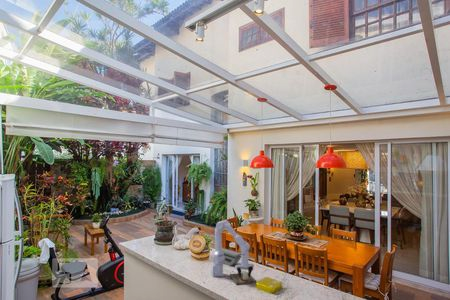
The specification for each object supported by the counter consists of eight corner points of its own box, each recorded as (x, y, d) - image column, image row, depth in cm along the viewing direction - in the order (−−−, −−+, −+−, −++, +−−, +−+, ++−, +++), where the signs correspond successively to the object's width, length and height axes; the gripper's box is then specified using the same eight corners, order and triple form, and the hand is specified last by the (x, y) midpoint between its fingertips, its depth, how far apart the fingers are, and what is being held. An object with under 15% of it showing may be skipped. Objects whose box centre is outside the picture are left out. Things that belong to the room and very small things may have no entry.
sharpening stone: (215, 261, 252) (215, 249, 253) (220, 259, 258) (221, 247, 258) (235, 268, 235) (235, 255, 236) (241, 265, 241) (241, 253, 242)
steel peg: (242, 282, 205) (242, 273, 206) (241, 280, 209) (241, 271, 210) (247, 282, 206) (247, 273, 207) (245, 280, 210) (246, 271, 211)
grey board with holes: (236, 284, 201) (236, 282, 202) (229, 276, 218) (229, 273, 218) (256, 282, 206) (256, 280, 206) (248, 274, 222) (248, 272, 222)
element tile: (265, 282, 208) (265, 275, 209) (283, 287, 199) (283, 281, 199) (255, 288, 197) (255, 281, 197) (273, 295, 187) (273, 287, 188)
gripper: (237, 261, 203) (237, 280, 202) (255, 260, 207) (255, 278, 206) (234, 258, 209) (234, 276, 209) (252, 257, 214) (251, 274, 213)
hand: (244, 277), depth 208 cm, fingers open, 7 cm apart
